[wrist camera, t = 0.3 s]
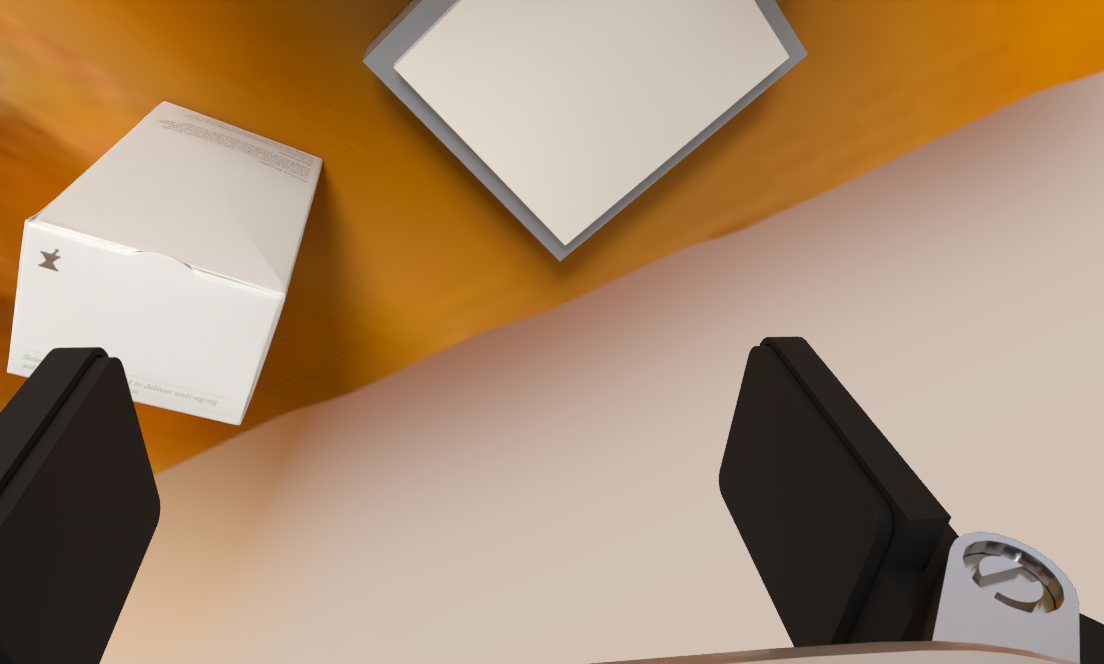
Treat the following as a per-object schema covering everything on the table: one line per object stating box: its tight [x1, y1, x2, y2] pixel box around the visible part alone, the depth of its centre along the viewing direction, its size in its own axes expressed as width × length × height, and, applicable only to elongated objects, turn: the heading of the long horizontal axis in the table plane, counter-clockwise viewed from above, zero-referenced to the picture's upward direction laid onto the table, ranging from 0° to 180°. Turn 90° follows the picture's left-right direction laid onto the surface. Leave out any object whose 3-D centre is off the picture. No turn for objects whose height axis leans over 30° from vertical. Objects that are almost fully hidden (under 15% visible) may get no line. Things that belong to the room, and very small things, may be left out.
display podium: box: [363, 0, 808, 261], centre depth 35 cm, size 16×14×4 cm
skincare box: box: [7, 101, 323, 425], centre depth 32 cm, size 8×7×16 cm
